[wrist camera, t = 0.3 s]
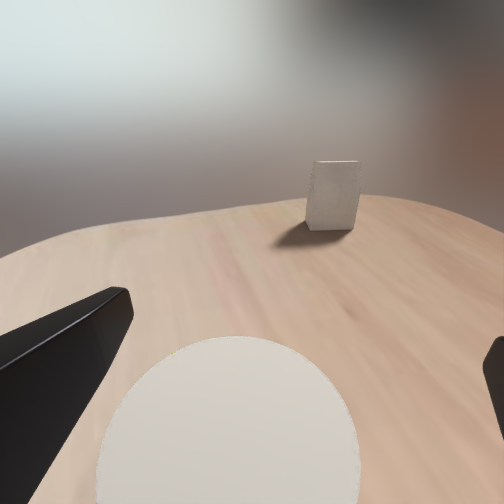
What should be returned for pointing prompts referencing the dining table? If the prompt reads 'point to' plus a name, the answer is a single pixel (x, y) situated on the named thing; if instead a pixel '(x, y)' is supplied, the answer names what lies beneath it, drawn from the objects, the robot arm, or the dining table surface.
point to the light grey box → (333, 195)
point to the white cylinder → (230, 431)
